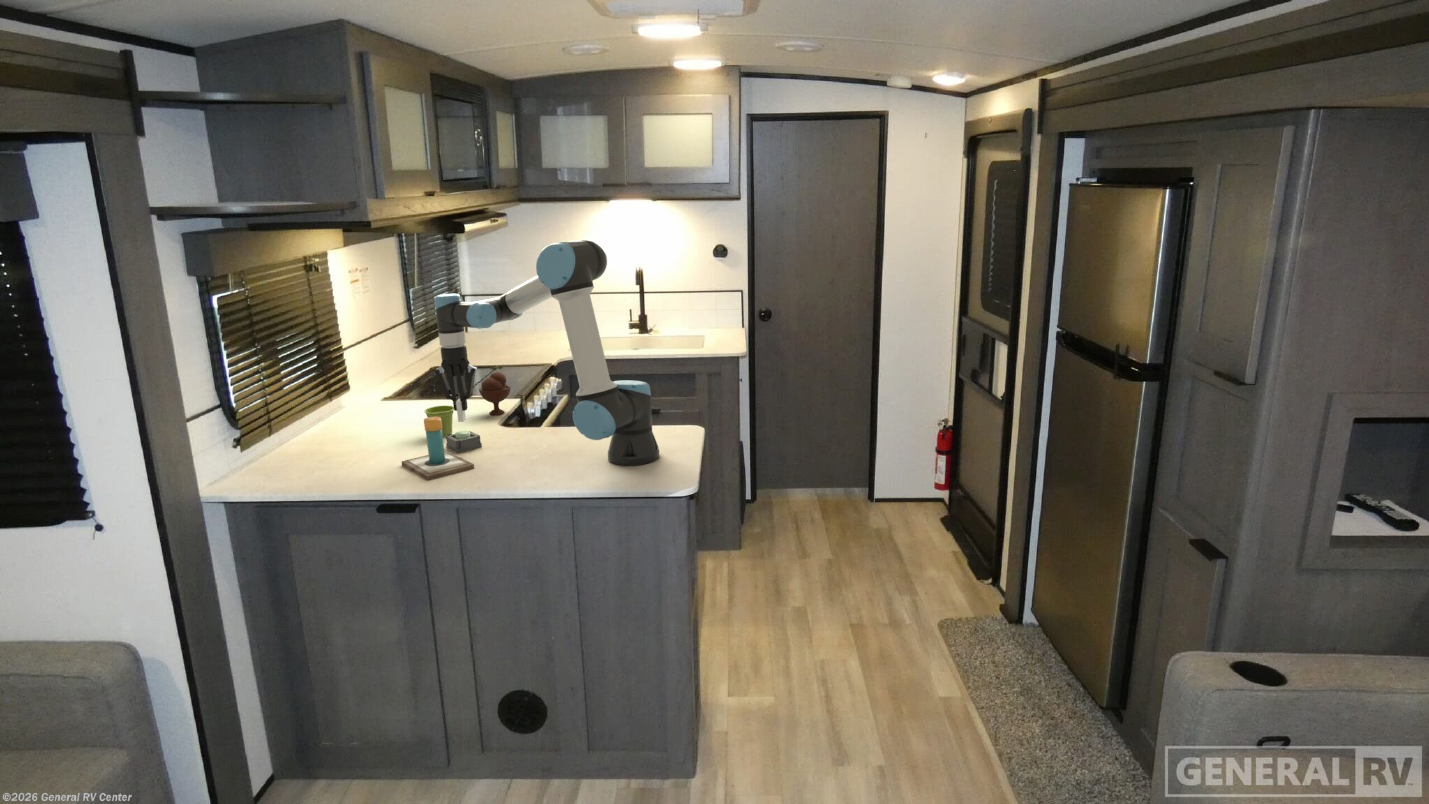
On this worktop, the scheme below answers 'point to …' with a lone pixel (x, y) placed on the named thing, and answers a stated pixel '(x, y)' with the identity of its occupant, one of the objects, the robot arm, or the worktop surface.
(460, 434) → the button
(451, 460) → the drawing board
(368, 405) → the worktop surface
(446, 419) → the plant pot
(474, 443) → the button housing
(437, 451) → the orange-topped post
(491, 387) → the ice cream bowl
